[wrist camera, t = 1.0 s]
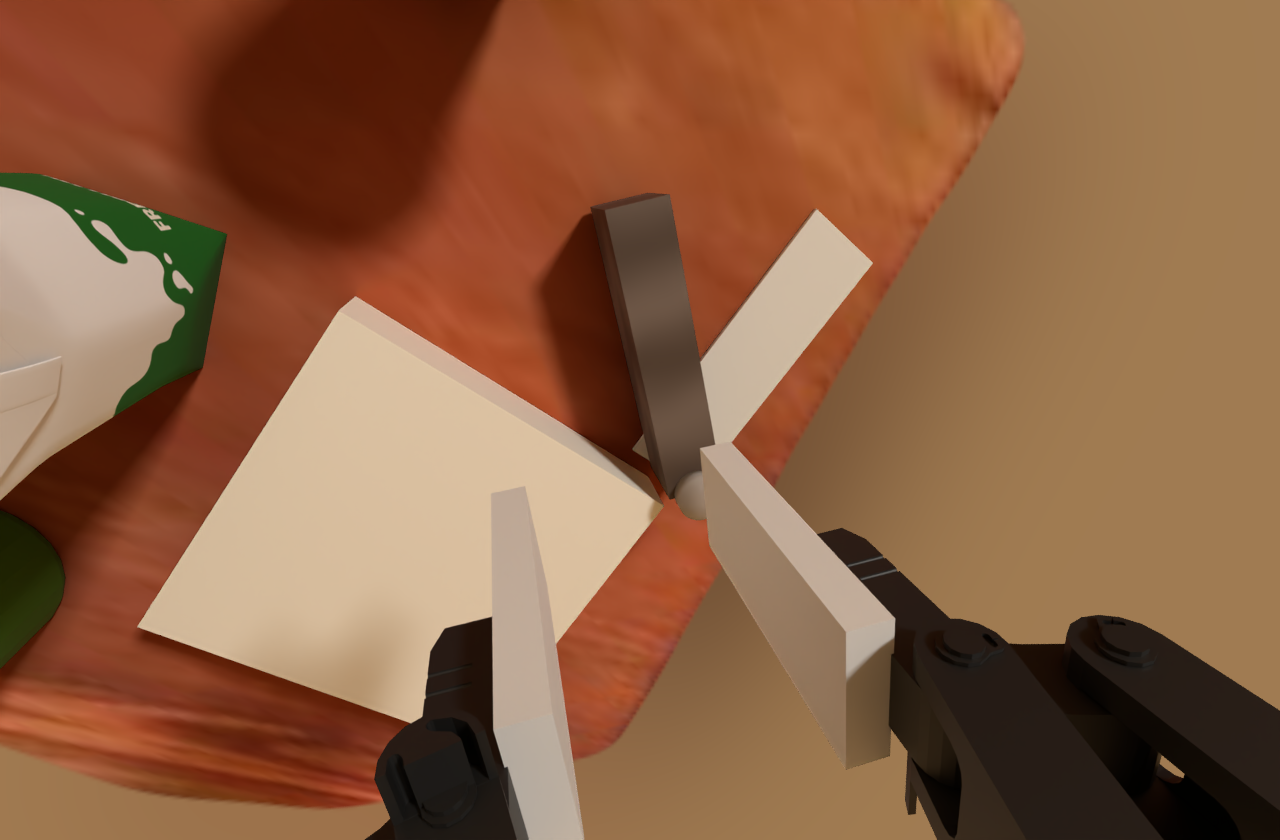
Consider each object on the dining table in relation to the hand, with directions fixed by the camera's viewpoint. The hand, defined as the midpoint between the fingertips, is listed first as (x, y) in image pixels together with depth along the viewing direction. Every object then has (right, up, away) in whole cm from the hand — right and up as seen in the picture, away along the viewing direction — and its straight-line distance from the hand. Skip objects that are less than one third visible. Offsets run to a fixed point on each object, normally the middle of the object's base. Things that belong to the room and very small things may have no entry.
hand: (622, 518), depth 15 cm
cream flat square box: (-13, -4, +23) cm, 27 cm away
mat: (+7, +6, +24) cm, 26 cm away
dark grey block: (+1, +6, +22) cm, 23 cm away
